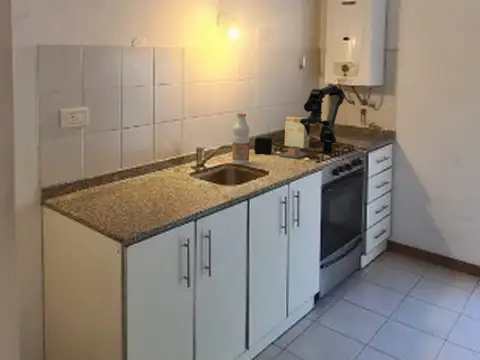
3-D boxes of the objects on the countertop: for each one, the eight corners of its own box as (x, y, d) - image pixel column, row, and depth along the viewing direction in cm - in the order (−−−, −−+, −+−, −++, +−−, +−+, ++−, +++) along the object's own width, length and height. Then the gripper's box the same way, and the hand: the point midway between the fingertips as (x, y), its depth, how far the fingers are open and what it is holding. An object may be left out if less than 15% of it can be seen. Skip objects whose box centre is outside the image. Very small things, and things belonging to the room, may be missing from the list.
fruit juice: (229, 162, 302) (229, 113, 295) (242, 160, 307) (243, 112, 300) (238, 165, 294) (239, 115, 287) (252, 163, 300) (253, 114, 293)
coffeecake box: (309, 147, 351) (310, 117, 346) (303, 148, 345) (304, 118, 341) (290, 144, 360) (291, 115, 355) (284, 145, 354) (285, 116, 350)
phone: (293, 152, 327) (293, 146, 326) (300, 153, 324) (300, 147, 323) (287, 154, 320) (287, 148, 319) (294, 155, 318) (294, 149, 317)
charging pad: (290, 152, 332) (290, 151, 331) (308, 155, 326) (308, 153, 325) (279, 156, 319) (279, 155, 319) (297, 159, 313) (297, 157, 313)
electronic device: (270, 155, 324) (271, 138, 321) (254, 154, 326) (254, 138, 323) (271, 153, 328) (272, 137, 325) (255, 152, 330) (256, 137, 327)
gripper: (296, 110, 315) (295, 136, 319) (326, 113, 306) (324, 139, 310) (304, 108, 325) (303, 134, 328) (333, 111, 315) (331, 137, 319)
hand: (315, 136), depth 321 cm, fingers open, 9 cm apart
